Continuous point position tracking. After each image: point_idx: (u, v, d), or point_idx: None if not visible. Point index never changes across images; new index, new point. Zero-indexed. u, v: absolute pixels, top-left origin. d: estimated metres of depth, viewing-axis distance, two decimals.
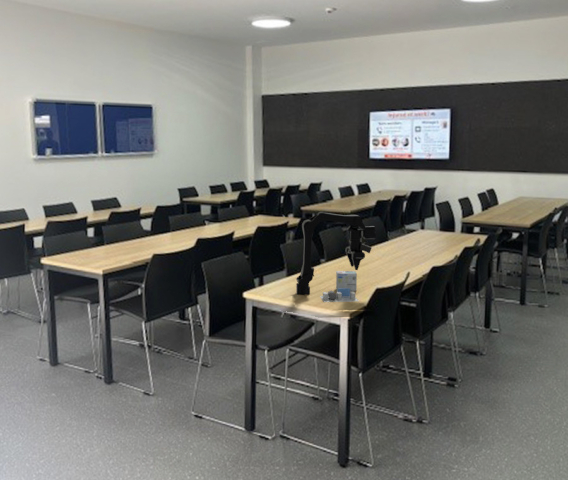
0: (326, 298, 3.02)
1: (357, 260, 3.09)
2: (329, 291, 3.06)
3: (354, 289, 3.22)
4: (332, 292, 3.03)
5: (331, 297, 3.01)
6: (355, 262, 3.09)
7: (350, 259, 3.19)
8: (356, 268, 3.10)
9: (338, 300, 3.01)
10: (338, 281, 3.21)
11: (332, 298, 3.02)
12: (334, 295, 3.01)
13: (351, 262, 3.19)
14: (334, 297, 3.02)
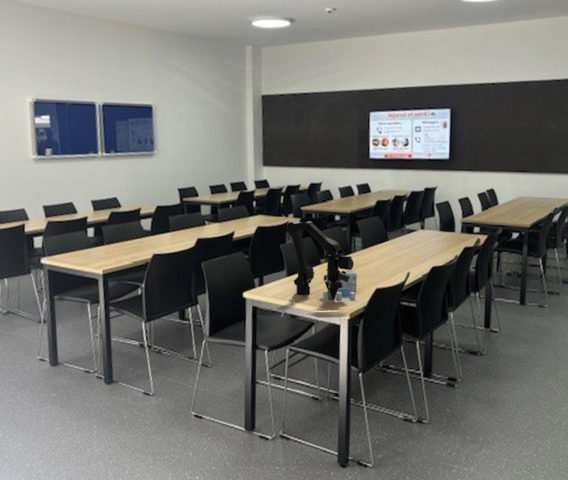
0: (326, 298, 3.02)
1: (334, 289, 3.00)
2: (327, 292, 3.06)
3: (354, 289, 3.22)
4: None
5: (331, 297, 3.01)
6: (332, 291, 2.99)
7: (329, 288, 3.07)
8: (333, 297, 3.01)
9: (338, 300, 3.01)
10: None
11: (331, 298, 3.02)
12: None
13: None
14: None
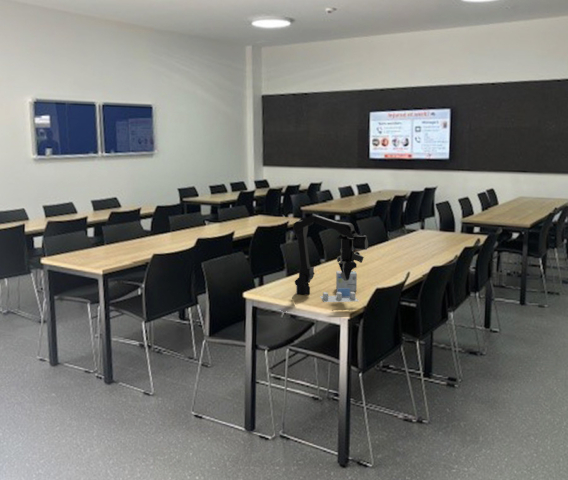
0: (326, 298, 3.02)
1: (348, 270, 2.99)
2: (341, 273, 3.06)
3: (354, 289, 3.22)
4: None
5: (345, 278, 3.01)
6: (346, 272, 2.99)
7: (342, 269, 3.06)
8: (347, 278, 3.00)
9: (338, 300, 3.01)
10: (338, 281, 3.21)
11: (345, 279, 3.01)
12: None
13: None
14: None
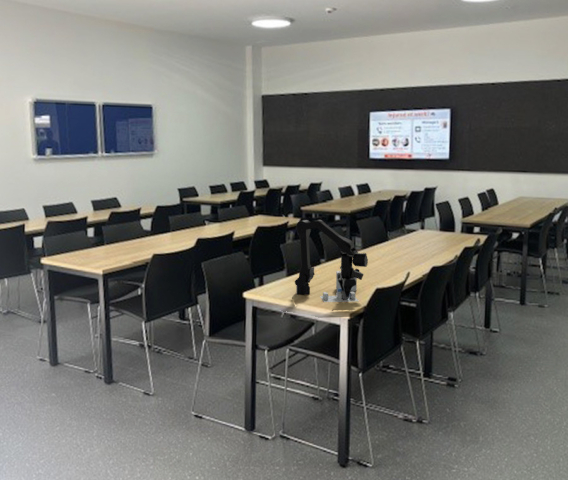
0: (326, 298, 3.02)
1: (348, 287, 2.99)
2: None
3: (354, 289, 3.22)
4: (343, 292, 3.04)
5: (344, 297, 3.02)
6: (346, 289, 2.99)
7: (342, 286, 3.08)
8: (347, 295, 3.01)
9: (338, 300, 3.01)
10: (338, 281, 3.21)
11: (345, 298, 3.02)
12: None
13: (343, 289, 3.08)
14: None
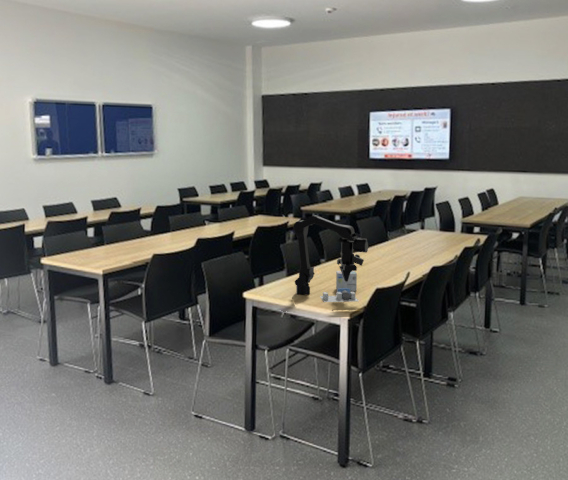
0: (326, 298, 3.02)
1: (347, 271, 3.01)
2: (343, 291, 3.07)
3: (354, 289, 3.22)
4: (346, 292, 3.04)
5: (345, 297, 3.02)
6: (345, 273, 3.01)
7: None
8: (346, 280, 3.03)
9: (338, 300, 3.01)
10: (338, 281, 3.21)
11: (346, 298, 3.02)
12: (348, 295, 3.02)
13: None
14: (348, 297, 3.02)
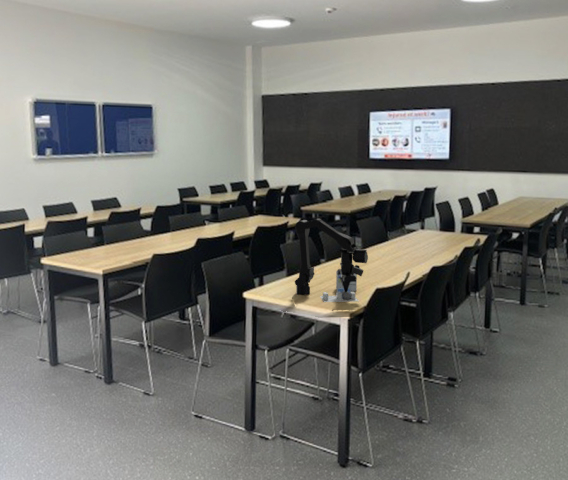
0: (326, 298, 3.02)
1: (346, 282, 3.03)
2: None
3: (354, 289, 3.22)
4: (347, 292, 3.04)
5: (346, 296, 3.02)
6: (344, 284, 3.03)
7: None
8: (346, 290, 3.04)
9: (338, 300, 3.01)
10: (338, 281, 3.21)
11: (346, 298, 3.02)
12: (349, 295, 3.02)
13: None
14: (348, 297, 3.02)
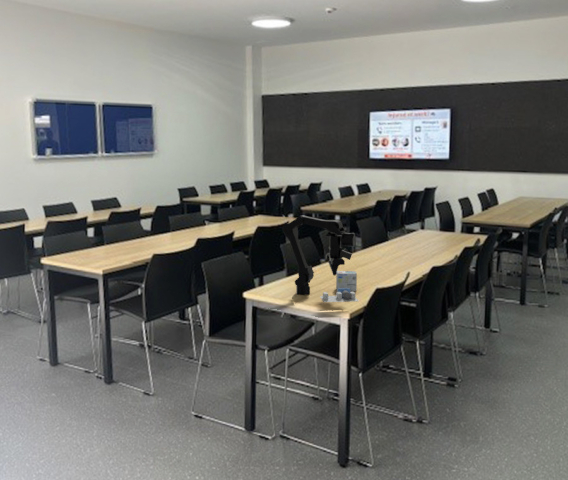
0: (326, 298, 3.02)
1: (335, 265, 3.04)
2: None
3: (354, 289, 3.22)
4: (347, 292, 3.04)
5: (346, 296, 3.02)
6: (333, 267, 3.04)
7: None
8: (334, 273, 3.05)
9: (338, 300, 3.01)
10: (338, 281, 3.21)
11: (346, 297, 3.02)
12: (349, 295, 3.02)
13: None
14: (348, 297, 3.02)
